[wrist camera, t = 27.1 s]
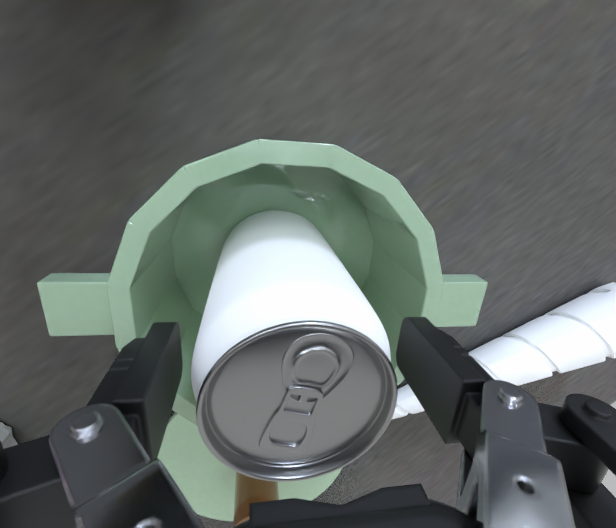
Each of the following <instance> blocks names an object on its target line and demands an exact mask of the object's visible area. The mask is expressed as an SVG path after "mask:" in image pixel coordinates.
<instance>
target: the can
mask: <svg viewBox="0 0 616 528" xmlns="http://www.w3.org/2000/svg"><path fill="white" fill-rule="evenodd" d="M191 382H192V388H193V392H194V396H195V399H196V401H197V405H196V420H197V426H198V430H199V433H200V435H201V438H202V440H203V442H204V443H205V445H206V447H207V448H208V449H209V451H210V452H211V453H212V454H213V455H214V456H215V457H216V458H217V459H218V460H219V461H220V462H221V463H223V464H224V465H225V466H227V467H229V468H230V469H232V470H234V471H236V472H238V473H240V474H243V475H245V476H248V477H252V478H255V479H260V480H265V481H275V482H291V481H301V480H307V479H312V478H316V477H320V476H323V475H326V474H329V473H331V472H334V471H336V470H338V469H340V468H342V467H344V466H346V465H348V464H350V463H351V462H353V461H355V460H356V459H357V458H359V457H360V456H362V455H363V454H364V453H365V452H367V451H368V450H369V449H370V448H371V447H372V446H373V445H374V444H375V443H376V442H377V441H378V439H379V438H380V437H381V436H382V434H383V433H384V431H385V430H386V428H387V427H388V425H389V423H390V421H391V419H392V417H393V414H394V411H395V408H396V403H397V396H398V385H397V378H396V374H395V371H394V368H393V366H392V364H391V356H390V346H389V341H388V338H387V335H386V332H385V330H384V327H383V325H382V323H381V321H380V319H379V318H378V316H377V314H376V313H375V311H374V310H373V308H372V306H371V305H370V303H369V302H368V300H367V299H366V297H365V296H364V294H363V293H362V292H361V290H360V289H359V287H358V286H357V284H356V283H355V281H354V280H353V278H352V277H351V276H350V274H349V273H348V271H347V270H346V268H345V267H344V265H343V264H342V263H341V261H340V260H339V258H338V257H337V255H336V254H335V253H334V251H333V250H332V248H331V247H330V246H329V244H328V243H327V241H326V240H325V239H324V237H323V236H322V234H321V233H320V232H319V231H318V229H317V228H316V227H315V226H314V225H313V224H312V223H311V222H310V221H309V220H307V219H306V218H304V217H302V216H300V215H298V214H295V213H292V212H288V211H280V210H268V211H262V212H259V213H256V214H253V215H251V216H249V217H247V218H245V219H244V220H242V221H241V222H240V223H239V224H238V225H236V226H235V227H234V229H233V230H232V231H231V232H230V234H229V235H228V237H227V239H226V241H225V243H224V245H223V248H222V251H221V254H220V258H219V261H218V264H217V268H216V271H215V275H214V278H213V282H212V285H211V289H210V292H209V296H208V299H207V303H206V306H205V310H204V313H203V317H202V321H201V324H200V328H199V332H198V336H197V339H196V343H195V348H194V352H193V357H192V366H191Z"/></svg>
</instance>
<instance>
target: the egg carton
mask: <svg viewBox="0 0 616 528" xmlns="http://www.w3.org/2000/svg"><path fill="white" fill-rule="evenodd" d="M0 441H1V443H2V446H3V448H4V449H5V448H8V447H12V446H15V445H18V444H17V442H16V440H15V439H14V438H13V435H12V428H11V427H9V426H7V425H5V424H3V423H2V422H0Z"/></svg>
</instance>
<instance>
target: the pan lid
mask: <svg viewBox="0 0 616 528" xmlns="http://www.w3.org/2000/svg"><path fill="white" fill-rule="evenodd" d="M158 459H160V460H161V461H162V463H163V464H164V465H165V467H166V469H167V470H168V472H169V473H170V475H171V476H172V478H173V479H174V481H175V482H176V484H177V485H178V487H179V489H180V490H181V492H182V493H183V495H184V496H185V498H186V499H187V501H188V502H189V504H190V506H191V507H192V509H193V510H194V512H195V513H196V514H198V515H201V516H204V517H208V518H212V519H217V520H222V521H233V527H235V526H237V525H238V524H240V523H243V522H245V521H247V520H249V505H250V503H256V502H264V501H273V500H282V499H290V498H297V499H304V500H310V501H312V500H313V499H315V498H316V497H318V496H319V495H320V494H321V493H322V492H324V491H325V490H326V489H327V488H328V487H329V486H330V485H331V484H332V483H333V481H334V480H335V479H336V477H337V476H338V475H339V473H340V471H341V469H342V468H343V467H342V468H340V469H338V470H336V471H334V472H331V473H329V474H326V475H323V476H320V477H316V478H312V479H307V480H301V481H291V482H275V481H265V480H260V479H255V478H252V477H248V476H245V475H243V474H240V473H238V472H236V471H234V470H232V469H230V468H229V467H227V466H225V465H224V464H223V463H221V462H220V461H219V460H218V459H217V458H216V457H215V456H214V455H213V454H212V453H211V452H210V451H209V449H208V448H207V447H206V445H205V443H204V442H203V440H202V438H201V435H200V433H199V430H198V426H197V425H195V424H194V423H192V422H190V421H189V420H187V419H186V418H184V417H182V416H181V415H179V414H178V413H176V412H175V413H174V414H173V416H172V417H171V418H170V419H169V421H168V424H167V428H166V431H165V434H164V438H163V441H162V444H161V448H160V451H159V454H158Z"/></svg>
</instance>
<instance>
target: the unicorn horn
mask: <svg viewBox="0 0 616 528" xmlns="http://www.w3.org/2000/svg"><path fill="white" fill-rule="evenodd" d="M468 353H469V356H472V357H473V358H474V359H475V360H476V362H477V363H478V364H479V365H480V366H481V367H482V368H483V369H484V370H485V371H486V372H487V373H488V374H489V375H490V376H491V377H492V378H493V379H494V380H501V381H506V382H509V383H512V384H514V385H517V386H518V385H522V384H525V383H529V382H532V381H536V380H539V379H543V378H546V377H550V376H552V372H553V371H557V372H559V373H564V372H567V371H571V370H574V369H578V368H582V367H585V366H589V365H592V364H596V363H599V362H603V361H605V357H606V356H608V357H610V358H616V283H613V282H612V283H609V284H606V285H603V286H600V287H597V288H595V289H593V290H591V291H589V292H588V293H587V294H585V295H582V296H580V297H578V298H576V299H574V300H572V301H570V302H568V303H566V304H564V305H562V306H560V307H558V308H556V309H554V310H552V311H550V312H548V313H546V314H545V315H544V316H541V317H538V318H536V319H534V320H532V321H530V322H528V323H526V324H524V325H522V326H520V327H518V328H516V329H514V330H512V331H510V332H508V333H506V334H504V335H503V336H502V337H499V338H496V339H494V340H492V341H490V342H488V343H486V344H484V345H482V346H480V347H478V348H476V349H474V350H472V351H470V352H468ZM422 411H425V410H424V409H423V407H422V405H421V404H420V402H419V401H418V399H417V397H416V396H415V394H414V393H413V391H412V389H411V388H410V386H409V385H408V384H407V385H405V386H403V387H401V388H399V389H398V396H397V403H396V408H395V411H394V414H393V417H392V419H395V418H399V417H403V416H406V415H407V414H408V412H409V413H412V414H415V413H418V412H422Z"/></svg>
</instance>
